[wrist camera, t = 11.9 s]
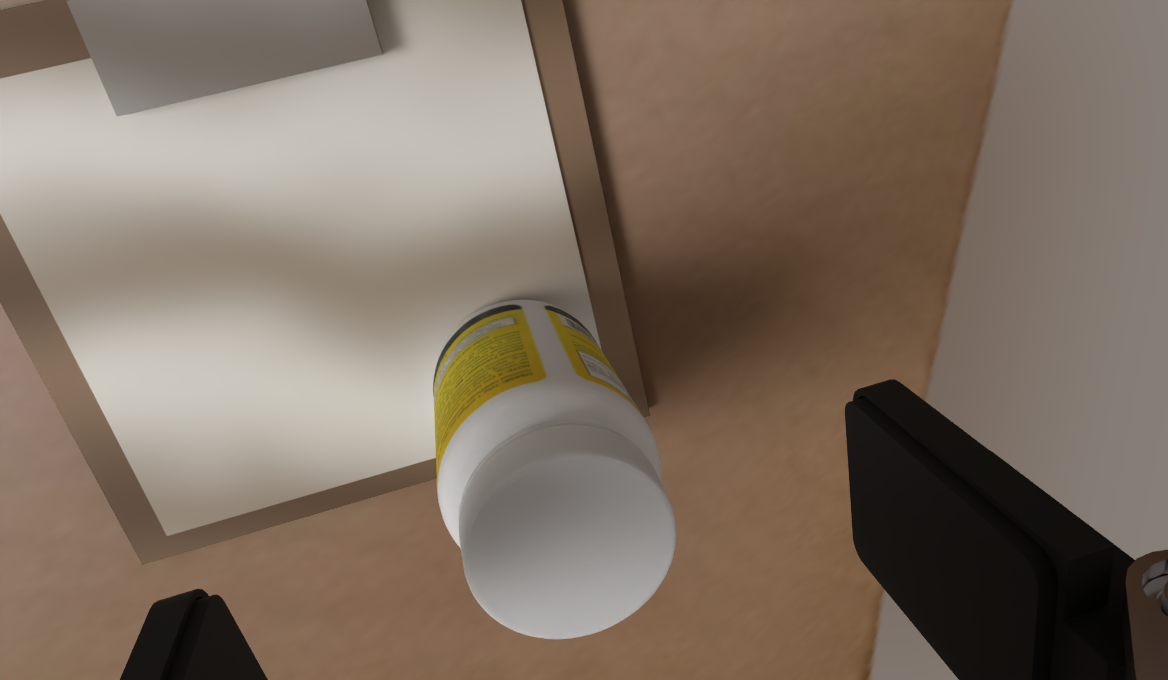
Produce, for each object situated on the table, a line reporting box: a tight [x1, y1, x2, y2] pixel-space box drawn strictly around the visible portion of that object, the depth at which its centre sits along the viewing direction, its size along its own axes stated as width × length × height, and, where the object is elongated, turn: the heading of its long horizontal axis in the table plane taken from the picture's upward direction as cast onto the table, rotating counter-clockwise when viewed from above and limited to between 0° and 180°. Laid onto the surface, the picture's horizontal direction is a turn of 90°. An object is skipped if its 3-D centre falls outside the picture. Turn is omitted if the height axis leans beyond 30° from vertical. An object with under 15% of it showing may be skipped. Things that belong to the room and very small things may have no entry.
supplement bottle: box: [433, 300, 676, 639], centre depth 18 cm, size 5×5×8 cm
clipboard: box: [0, 0, 650, 565], centre depth 19 cm, size 14×15×1 cm
